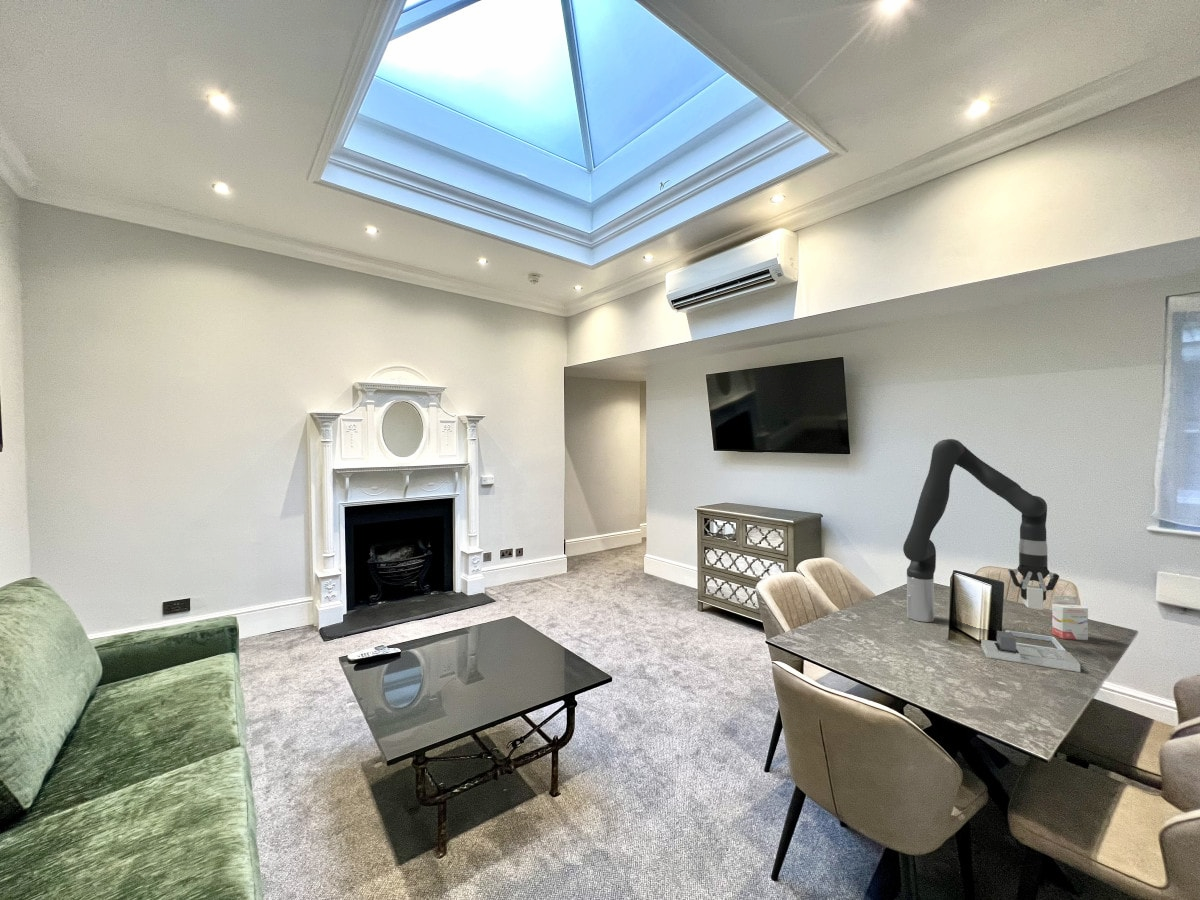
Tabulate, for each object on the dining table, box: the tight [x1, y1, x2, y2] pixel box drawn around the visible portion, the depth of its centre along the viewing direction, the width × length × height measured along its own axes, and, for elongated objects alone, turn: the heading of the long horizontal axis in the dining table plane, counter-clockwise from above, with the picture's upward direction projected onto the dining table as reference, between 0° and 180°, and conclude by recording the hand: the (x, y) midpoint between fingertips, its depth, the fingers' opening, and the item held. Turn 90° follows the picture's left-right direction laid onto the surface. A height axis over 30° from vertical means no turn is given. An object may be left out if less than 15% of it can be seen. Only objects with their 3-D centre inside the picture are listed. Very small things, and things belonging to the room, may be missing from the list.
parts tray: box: [1004, 629, 1067, 652], centre depth 171 cm, size 14×14×2 cm
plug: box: [1023, 583, 1044, 611], centre depth 171 cm, size 4×6×7 cm, turn 150°
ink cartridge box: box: [1051, 595, 1089, 641], centre depth 176 cm, size 9×5×15 cm, turn 84°
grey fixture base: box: [980, 630, 1081, 673], centre depth 160 cm, size 23×10×7 cm, turn 60°
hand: (1033, 599), depth 171 cm, fingers closed on plug, 4 cm apart
